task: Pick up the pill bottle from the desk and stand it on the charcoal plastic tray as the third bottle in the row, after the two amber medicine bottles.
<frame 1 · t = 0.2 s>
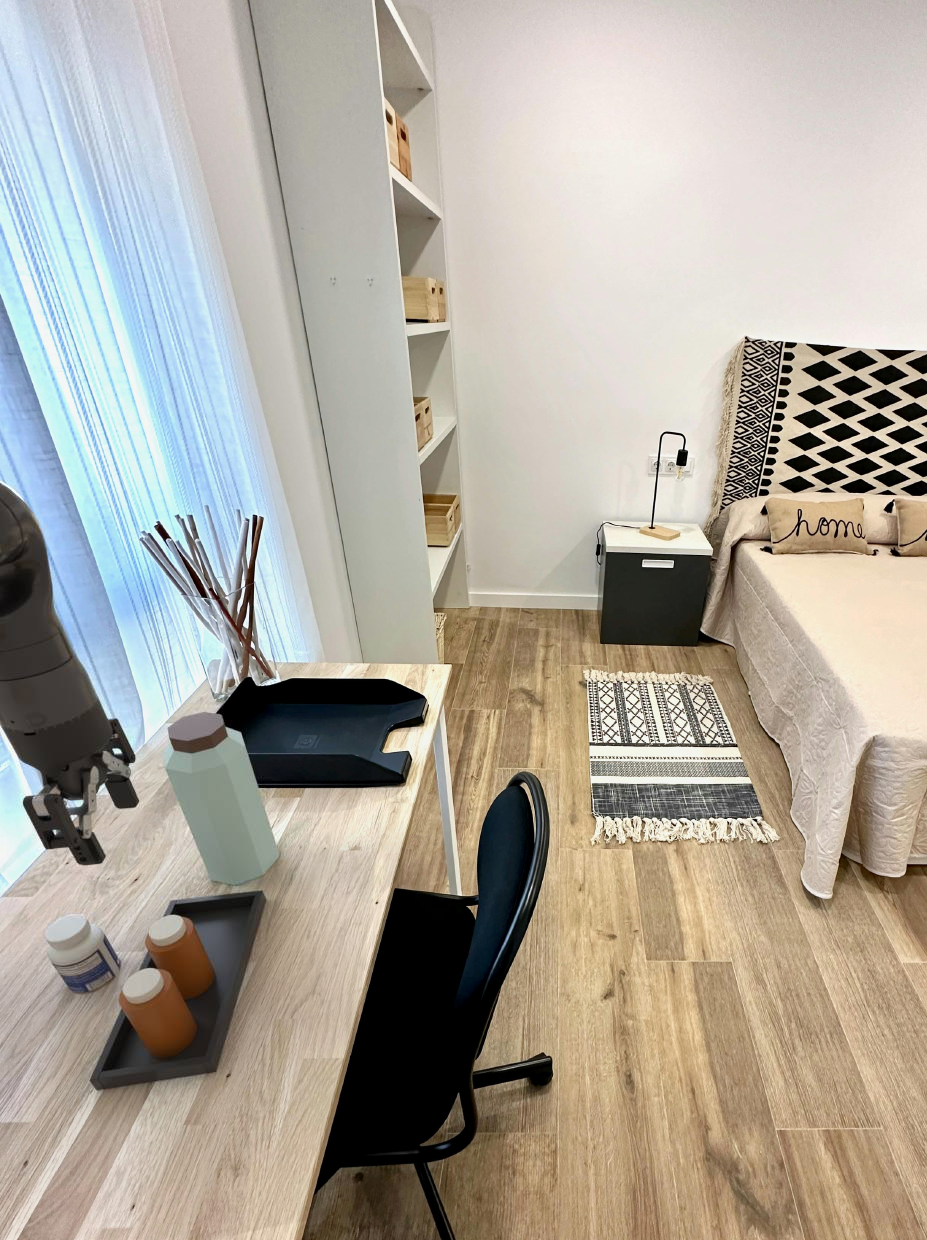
hand: (112, 833, 67), 22 cm above the table, tool pointing down, fingers open, 8 cm apart
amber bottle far: (173, 1037, 71), point 1 cm above the table, touching tray
pill bottle: (98, 980, 78), on the table
tray: (195, 987, 77), on the table
amber bottle mid: (193, 982, 76), point 1 cm above the table, touching tray
water bottle: (246, 866, 94), on the table
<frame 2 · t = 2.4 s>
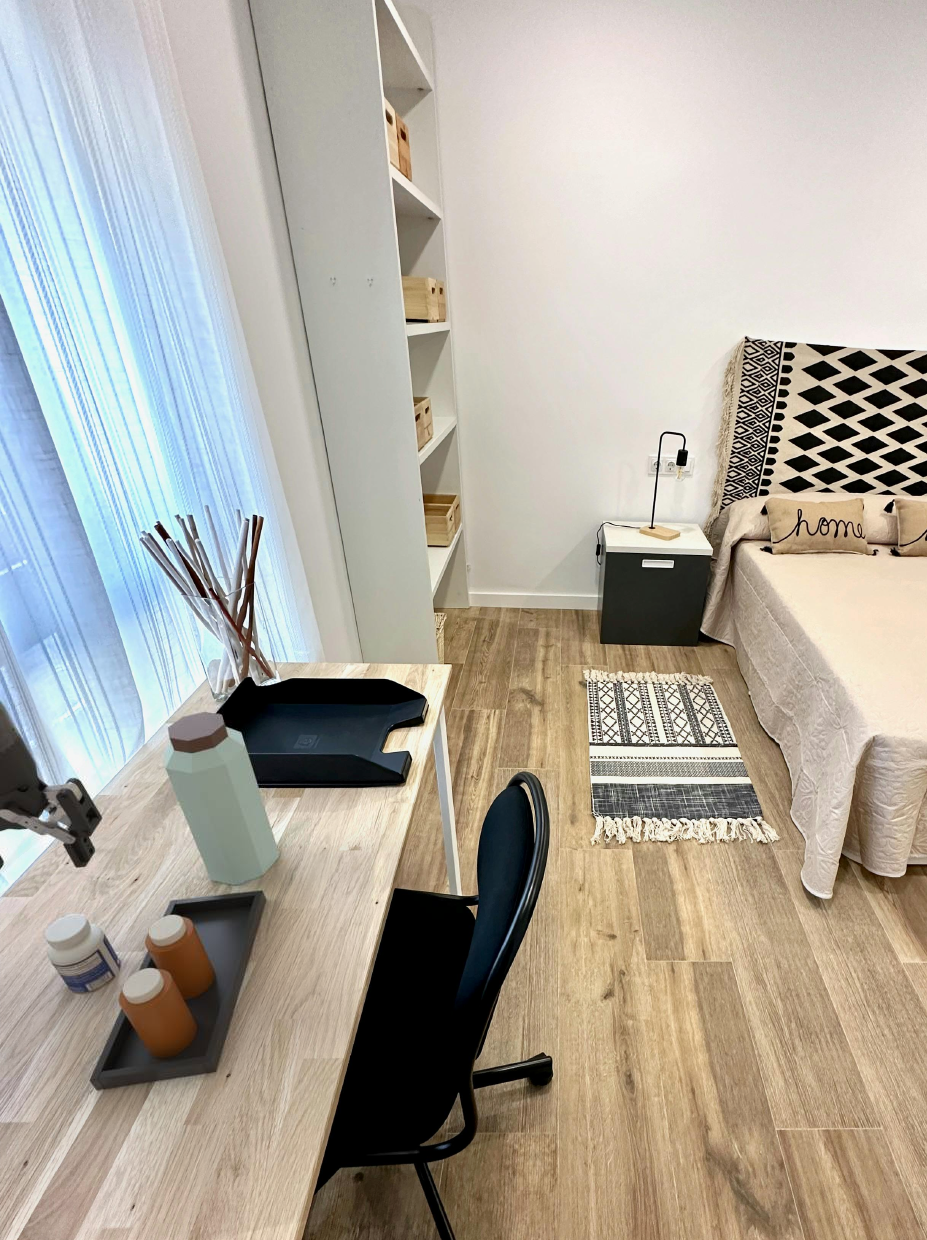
hand: (40, 866, 67), 19 cm above the table, tool pointing down, fingers open, 8 cm apart
nothing on the table moved.
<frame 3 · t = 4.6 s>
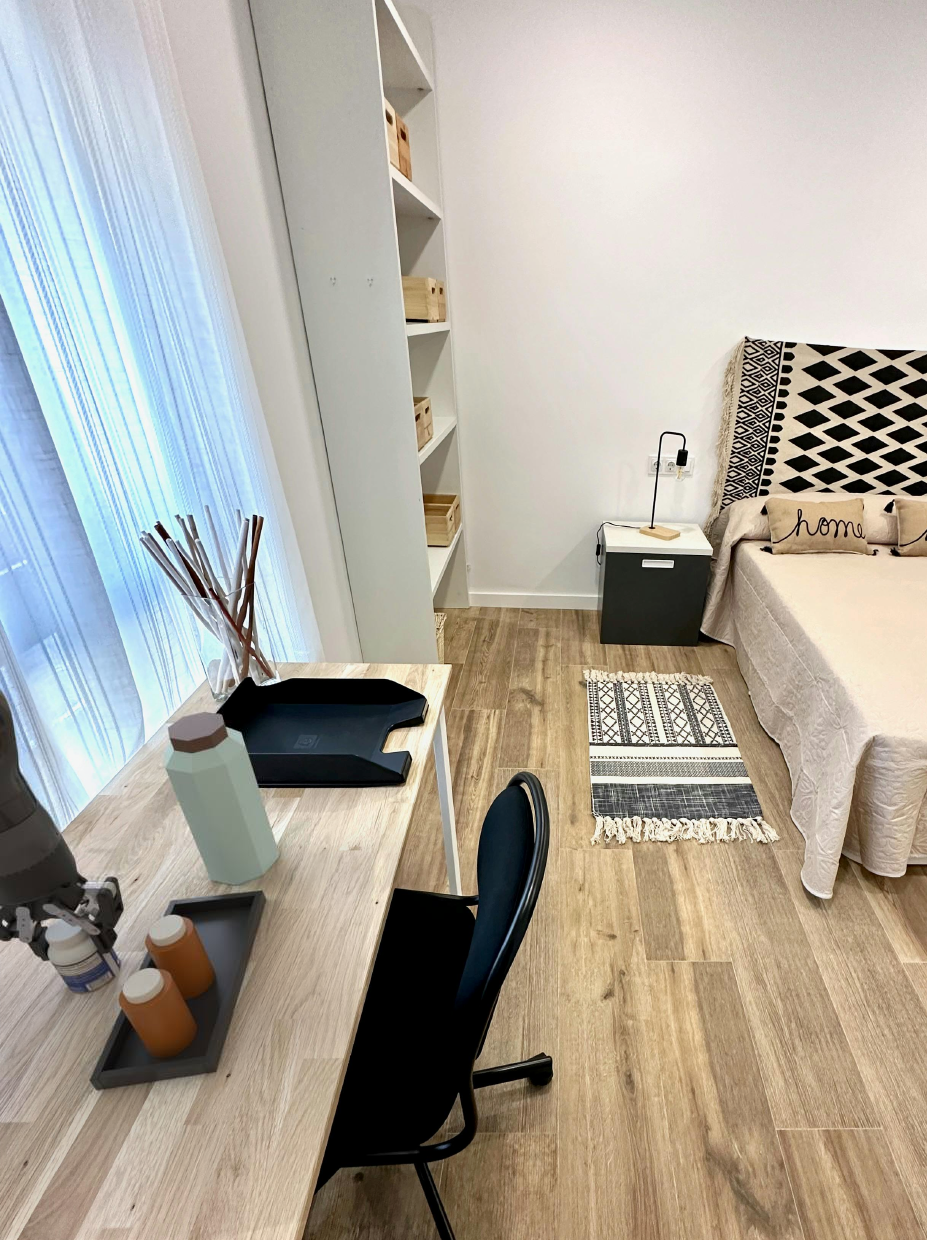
hand: (80, 950, 75), 5 cm above the table, tool pointing down, fingers closed on pill bottle, 5 cm apart
pill bottle: (98, 980, 78), on the table, touching gripper
everything else where it was.
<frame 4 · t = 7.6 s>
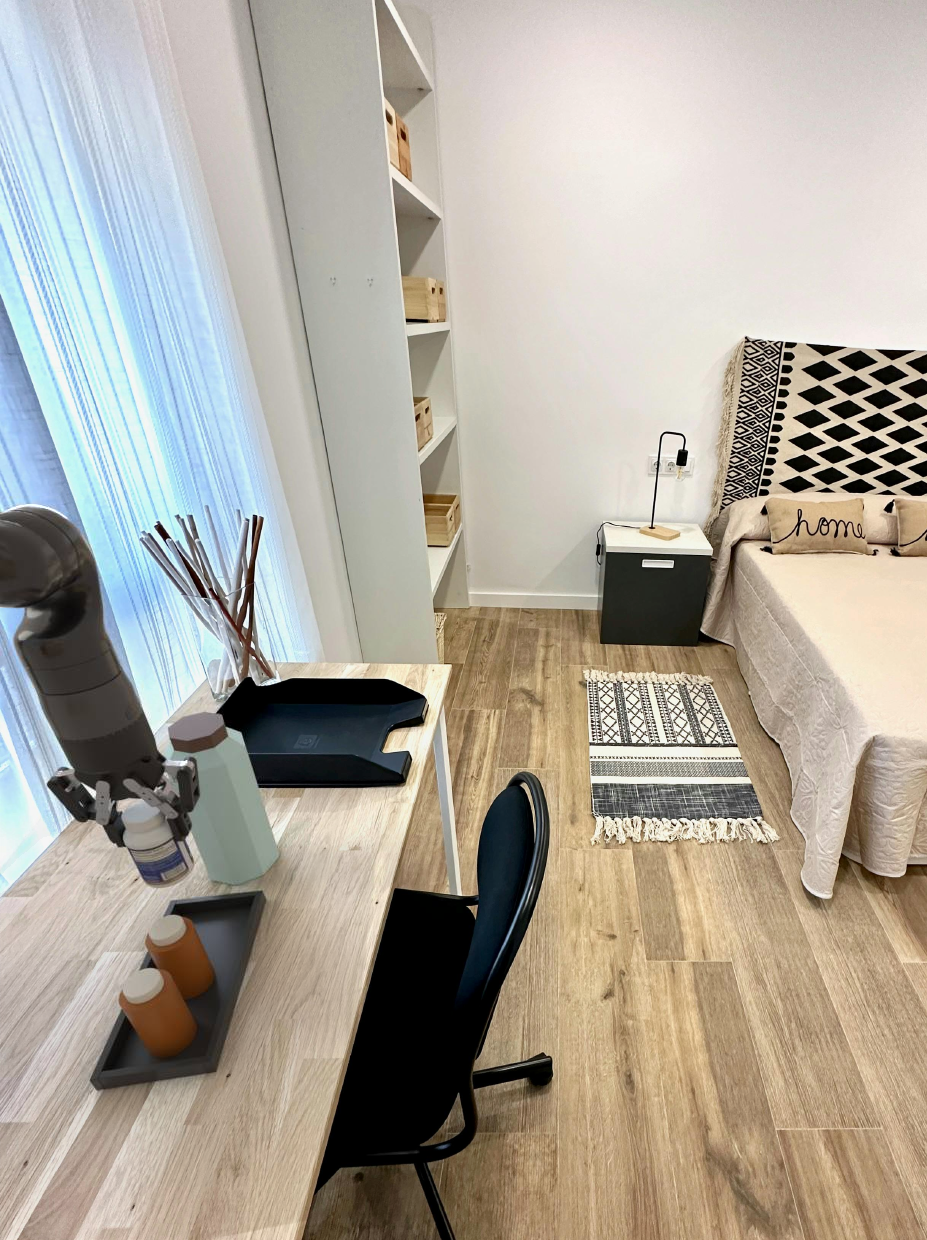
hand: (154, 839, 72), 19 cm above the table, tool pointing down, fingers closed on pill bottle, 5 cm apart
pill bottle: (170, 873, 75), point 13 cm above the table, touching gripper
everything else where it was.
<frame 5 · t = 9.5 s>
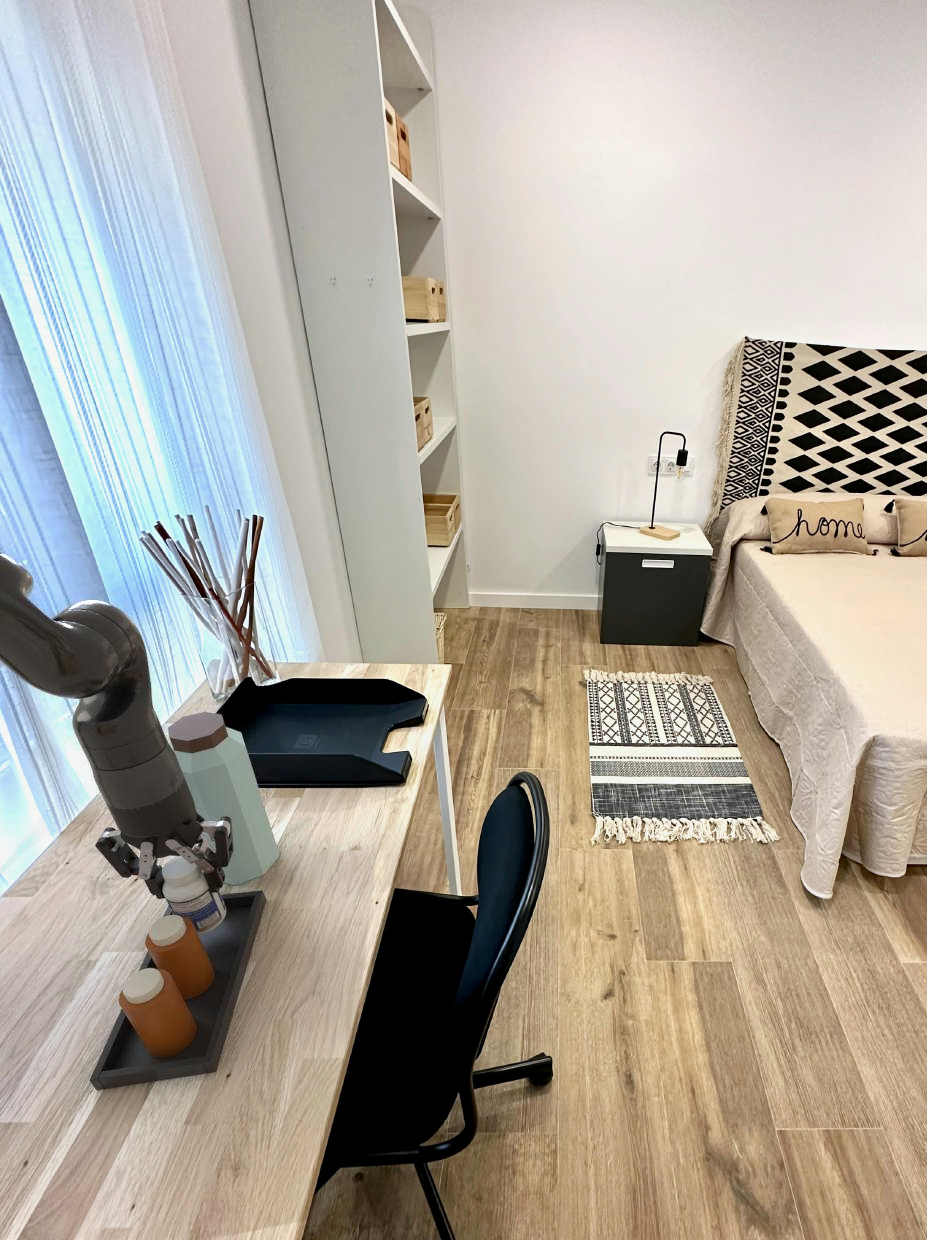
hand: (190, 890, 78), 9 cm above the table, tool pointing down, fingers closed on pill bottle, 5 cm apart
pill bottle: (204, 920, 81), point 4 cm above the table, touching gripper
everything else where it was.
when the fingers open (6 cm above the table, at t = 10.8 s): pill bottle stays where it is, resting on tray.
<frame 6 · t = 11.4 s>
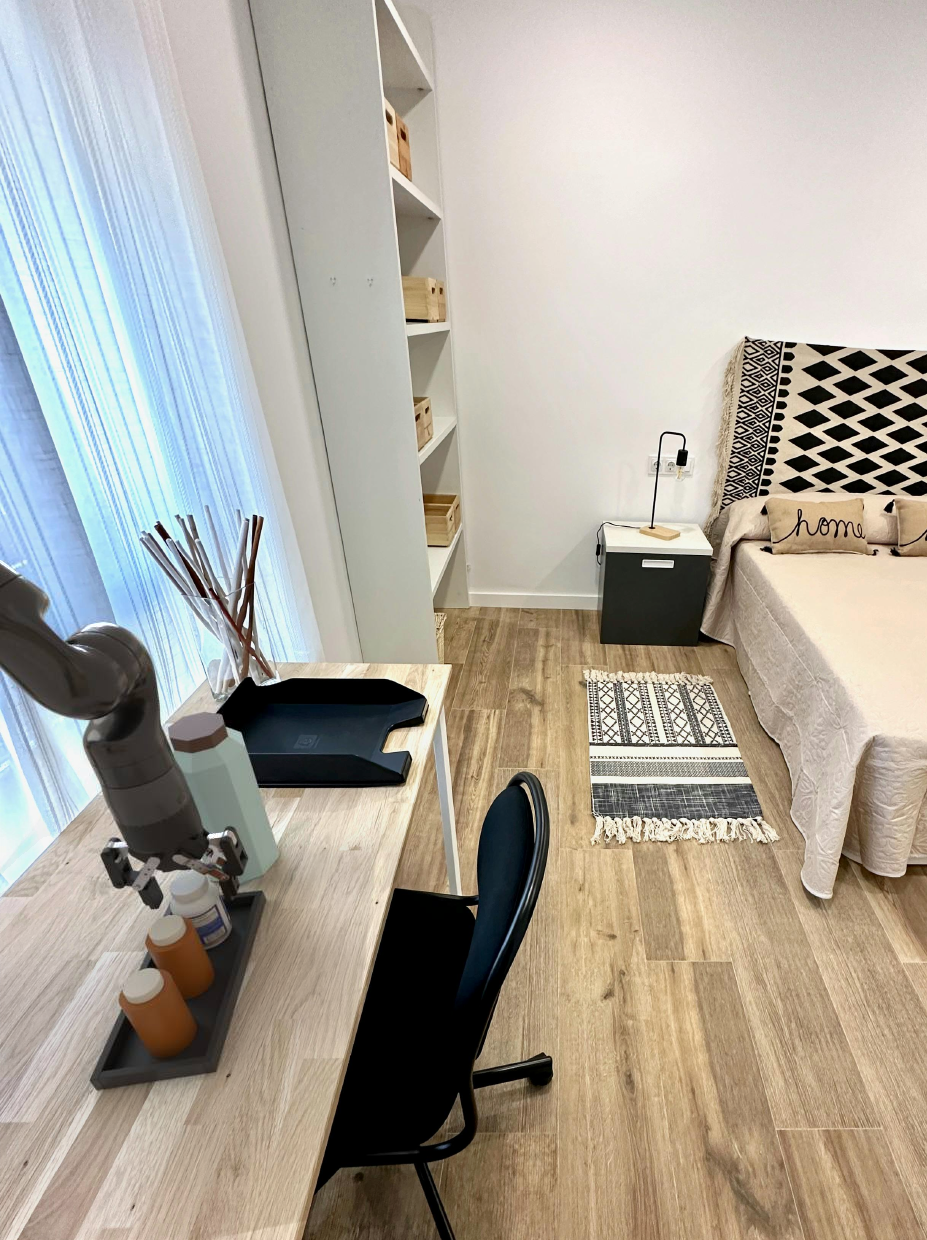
hand: (195, 899, 79), 8 cm above the table, tool pointing down, fingers open, 8 cm apart
pill bottle: (210, 935, 82), point 1 cm above the table, touching tray
everything else where it was.
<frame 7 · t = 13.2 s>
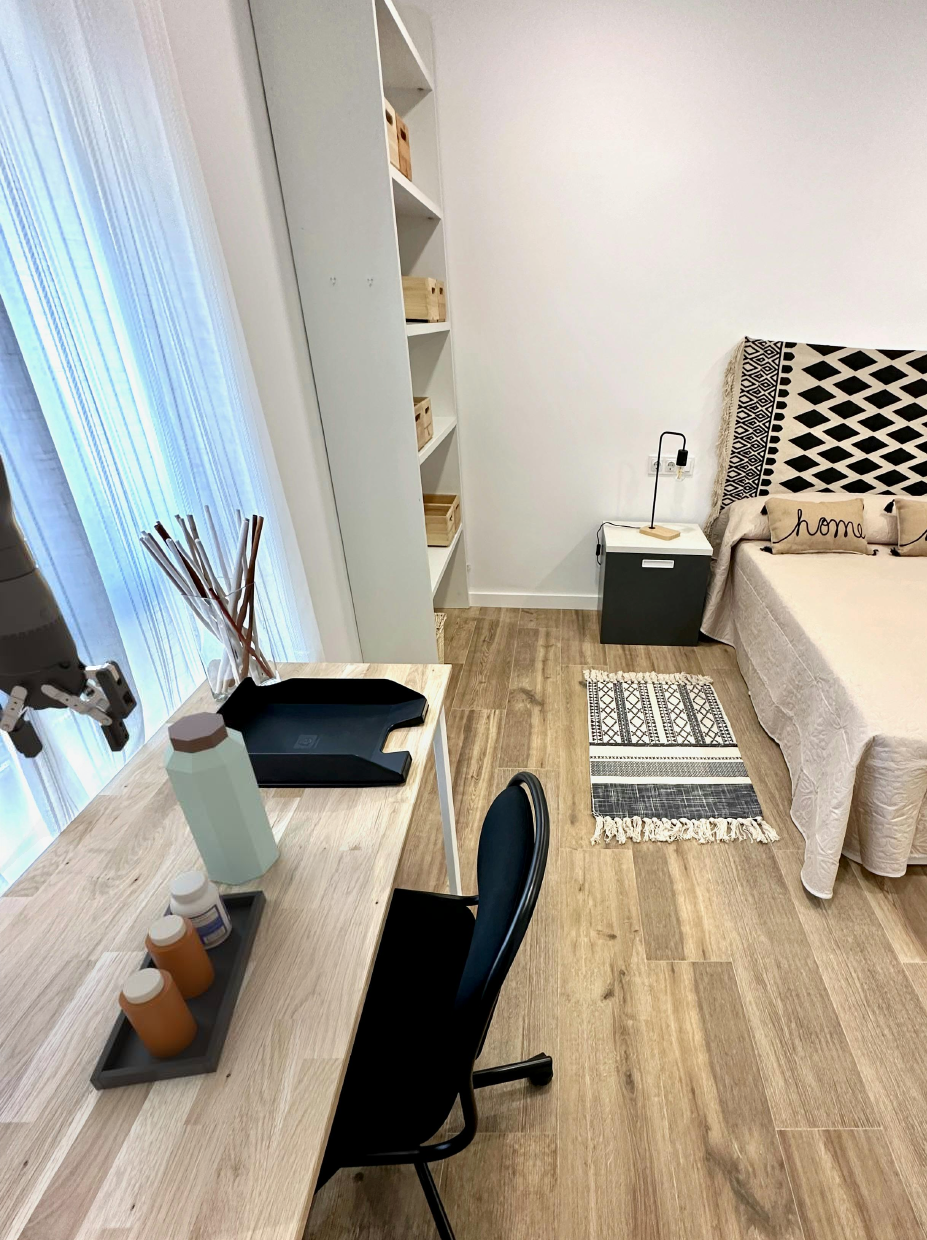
hand: (78, 750, 70), 28 cm above the table, tool pointing down, fingers open, 8 cm apart
nothing on the table moved.
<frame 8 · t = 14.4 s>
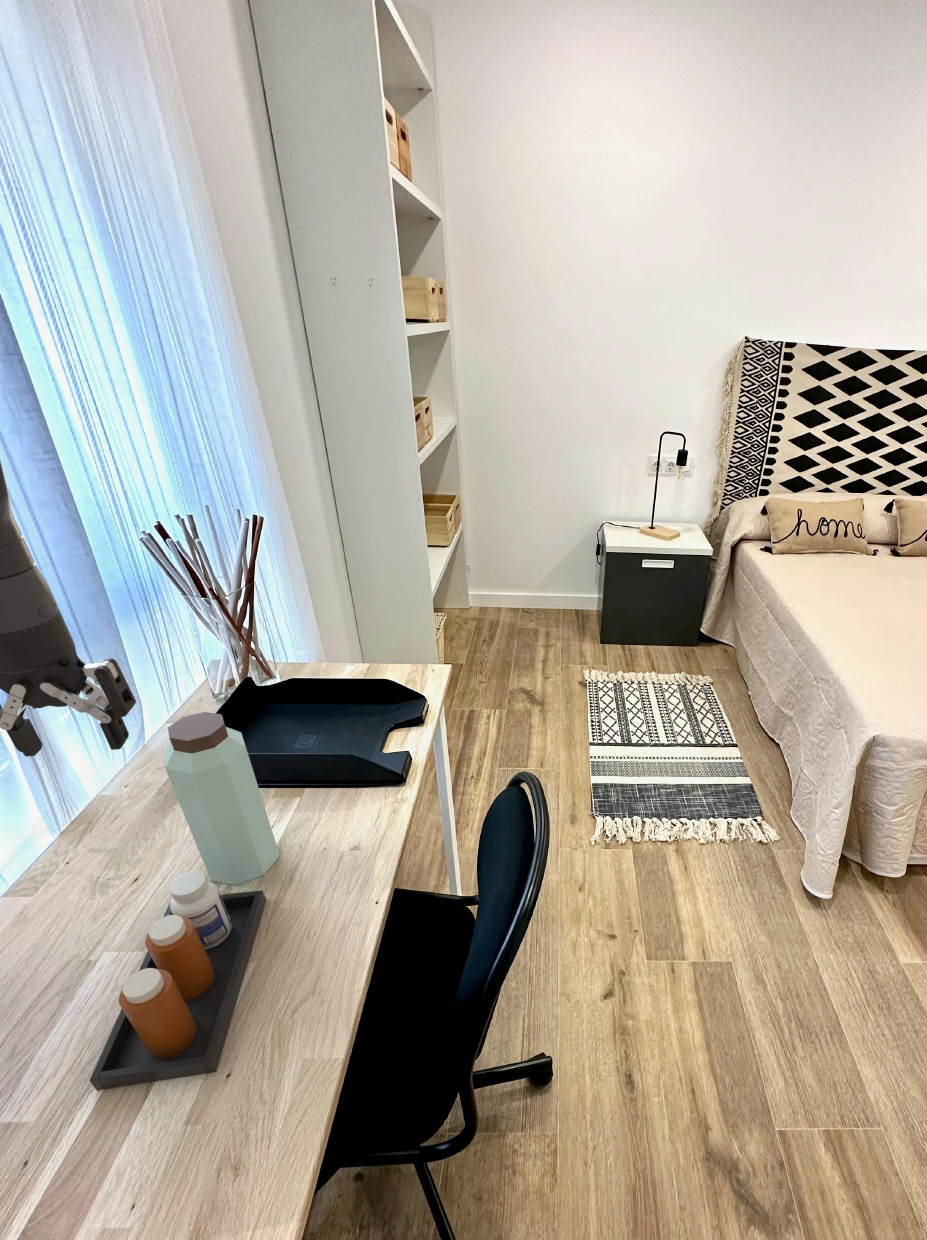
hand: (77, 748, 70), 28 cm above the table, tool pointing down, fingers open, 8 cm apart
nothing on the table moved.
at the end: pill bottle 0.1 cm from the target spot in the tray, point 0.8 cm above the tray's base; pill bottle tilted 0°; amber bottle mid moved 0.0 cm from its start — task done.
